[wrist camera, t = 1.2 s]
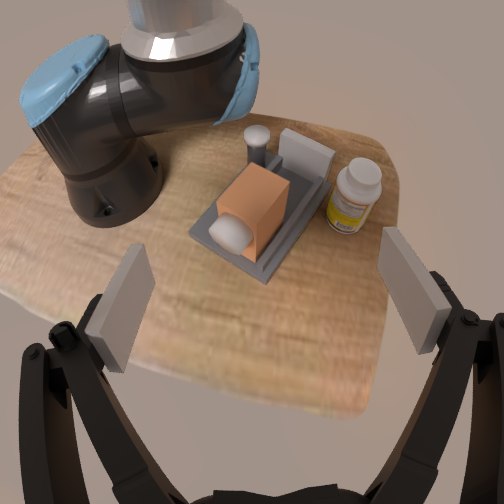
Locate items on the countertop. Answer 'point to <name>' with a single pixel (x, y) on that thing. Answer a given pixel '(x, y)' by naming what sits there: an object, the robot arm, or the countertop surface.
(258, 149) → the dial post
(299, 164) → the mount
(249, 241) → the orange rectangular block
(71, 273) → the countertop surface
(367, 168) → the supplement bottle
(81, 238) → the countertop surface
